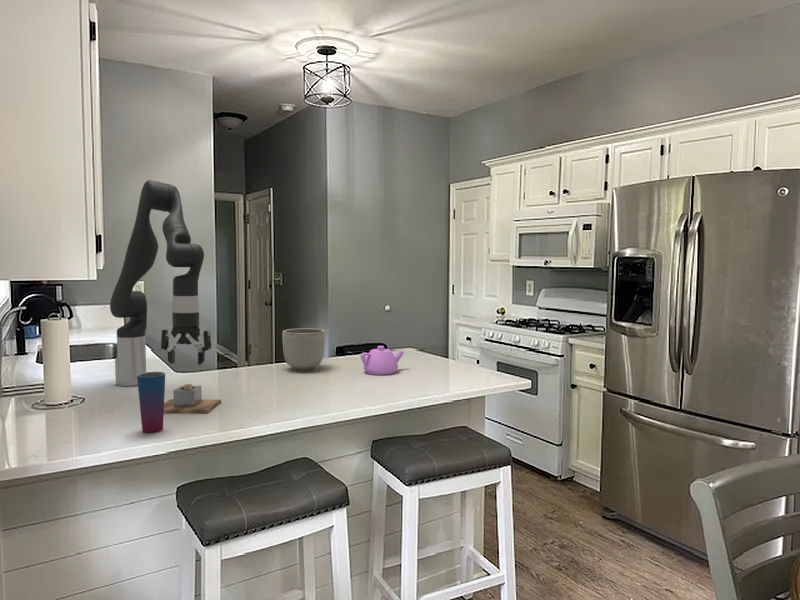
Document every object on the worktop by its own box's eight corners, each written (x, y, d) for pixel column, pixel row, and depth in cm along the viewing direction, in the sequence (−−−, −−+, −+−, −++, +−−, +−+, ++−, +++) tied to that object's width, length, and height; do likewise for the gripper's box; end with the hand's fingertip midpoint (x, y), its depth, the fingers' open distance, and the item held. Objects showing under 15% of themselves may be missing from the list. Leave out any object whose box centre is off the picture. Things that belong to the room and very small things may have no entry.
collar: (173, 407, 167) (173, 390, 166) (181, 401, 173) (181, 385, 172) (194, 407, 167) (194, 390, 166) (201, 401, 173) (201, 385, 172)
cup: (144, 426, 151) (142, 371, 150) (170, 425, 151) (168, 371, 150) (134, 434, 144) (132, 377, 143) (161, 433, 145) (160, 376, 144)
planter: (273, 370, 226) (273, 330, 225) (306, 364, 240) (306, 326, 238) (301, 376, 215) (300, 335, 214) (334, 369, 228) (334, 330, 227)
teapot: (412, 372, 224) (412, 346, 223) (369, 378, 213) (369, 350, 212) (393, 366, 236) (393, 341, 235) (352, 371, 224) (352, 345, 224)
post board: (153, 412, 164) (152, 389, 163) (170, 402, 176) (169, 380, 175) (207, 413, 164) (207, 389, 163) (221, 402, 176) (220, 380, 175)
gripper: (156, 311, 164) (157, 365, 165) (205, 312, 163) (205, 366, 165) (167, 308, 171) (168, 360, 172) (213, 309, 171) (214, 361, 172)
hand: (186, 363), depth 169 cm, fingers open, 8 cm apart
